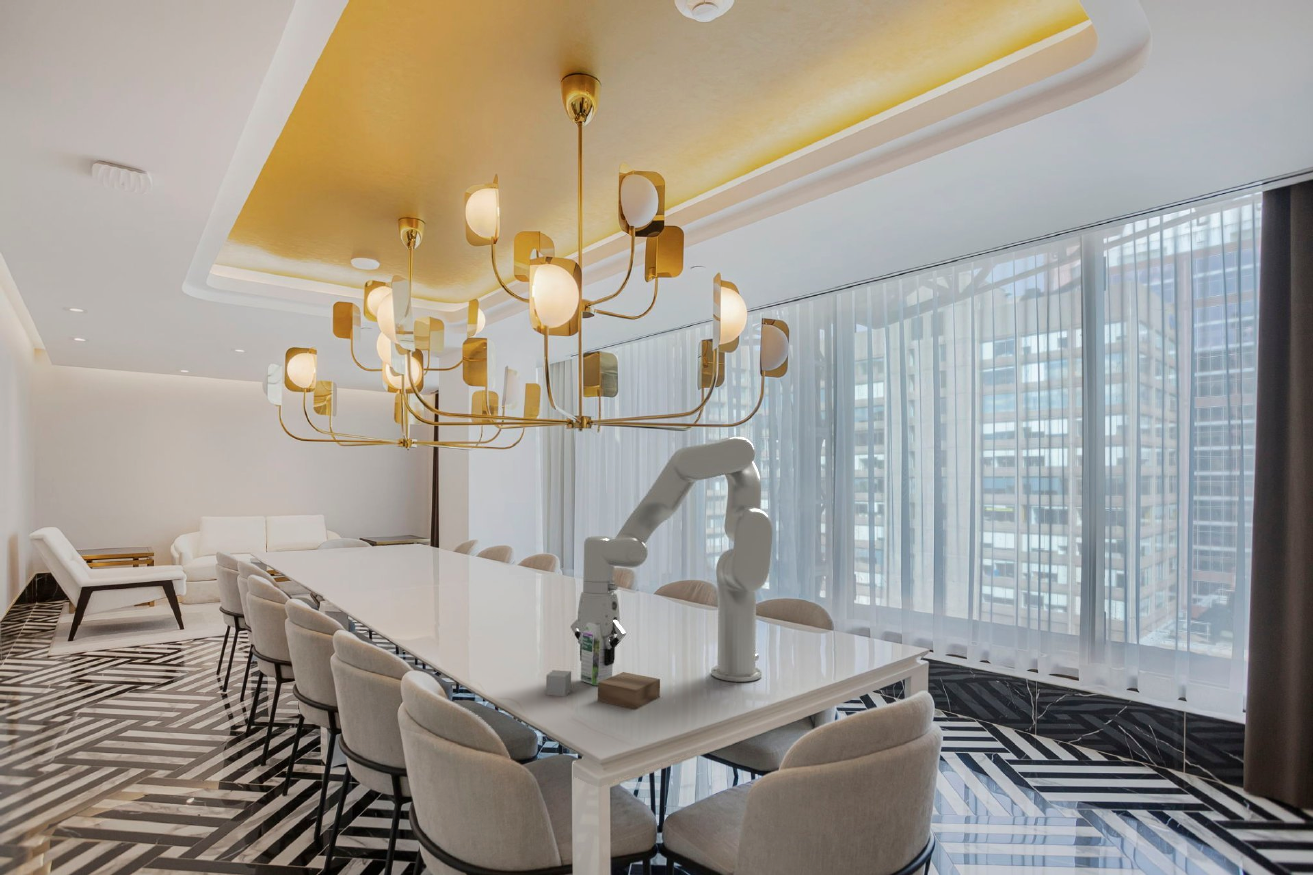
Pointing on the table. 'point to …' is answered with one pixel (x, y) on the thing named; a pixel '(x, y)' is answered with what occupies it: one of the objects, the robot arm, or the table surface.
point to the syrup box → (593, 655)
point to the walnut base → (628, 690)
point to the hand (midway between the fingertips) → (597, 661)
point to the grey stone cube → (558, 683)
